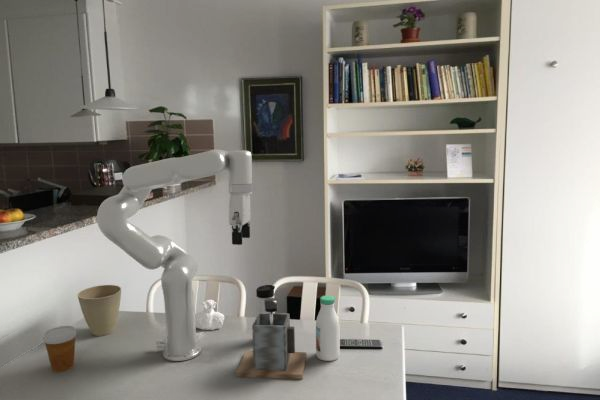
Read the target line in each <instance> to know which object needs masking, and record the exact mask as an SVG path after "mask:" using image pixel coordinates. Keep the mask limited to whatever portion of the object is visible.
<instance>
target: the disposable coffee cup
mask: <svg viewBox="0 0 600 400" xmlns="http://www.w3.org/2000/svg"><path fill="white" fill-rule="evenodd" d="M77 334H78V333H77V330H76V329H75V327H74V326H71V325H61V326H57V327H53V328H51V329H47V330H46V331H45V332H44V333H43V336H42V341H43V342H44V343H45V344H44V345H45V348H46V352H47V356H48V359H49V363H50V367H51V370H52V371H53V372H54V373H59V372H61V373H62V372H66V371H68V370H70V369H72V368H73V367H74V366H75V350H76V349H75V348H76V335H77Z"/></svg>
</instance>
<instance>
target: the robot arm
mask: <svg viewBox="0 0 600 400" xmlns="http://www.w3.org/2000/svg"><path fill="white" fill-rule="evenodd" d="M226 172H228V173H227V174H228V175H227V176H228V178H227V179H228V180H227V181H228V194H229V202H228V203H229V205H228V225H230V226H231V244H232V245H237V246H238V245H239V246H241V245H243V239H250V237H251V226H250V225H251V222H250V221H251V214H252V213H251V195H252V194H253V158H252V152H251V151H250V150H243V149H242V150H238V149H237V150H235V149H234V150H223V149H210V150H207V151H203V152H199V153H195V154H190V155H185V156H180V157H169V158H163V159H161V160H156V161H151V162H147V163H141V164H138V165H134V166H130V167H129V168H127V169H126V170H125V171H124V172H123V175H122V179H121V180H122V184H123V187H122V189H120V191H119V193H118V194H116V195H112V196H109V197H107V198H106V199H104V200H103V201H102V202H101V204H100V206H99V207H98V209H97V212H96V213H97V214H96V222H97V225H98V228H99V230H100V232H101V233H102V234H103V235H104V236H105V238H106V239H107V240H109V241H110V242H112V243H113V244H115V245H116V246H117V247H119V248H120V249H121V250H123V252H125V253H126V255H128V256H129V257H131V258H132V259H133V260H135V262H137V263H139V265H141V266H142V267H144V268H145V269H147V270H150V271H151V270H156V269H159V268H160V267H161V268H163V271H162V274H161V279H160V280H161V281H160V282H161V283H160V284H161V289H162V293H163V301H164V315H165V329H166V330H165V331H166V338H165V339H161V338H157V339H156V341H155V345H156V348H157V349H158V348H159V349H161V348H163V350H162V356H163V358H164V359H166V360H168V361H171V362H183V361H189V360H191V359H193V358H196V357H197V356H199V355H200V354H201V353H202V345H201V344H200V343H198V342H197V333H196V332H197V331H196V326H195V314H196V313H195V311H196V309H195V297H194V290H193V280H194V278H195V276H196V274H197V273H198V263H197V261H196V259H195V258H194V257H193V256H192V255H191V254H190V253H188V251H186V250H185V249H183V248H182V247H181V246H180V245H178V244H177V243H176V242H174V241H173V240H172V239H170V238H169V237H167V236H165V235H160V234H159V235H157V234H156V235H152V236H150V235H148V234H147V233H146V232H144V231H143V230H142V229H141V228H140V227H138V226H136V225H134V224H133V223H131V222H129V221H128V219H129V218H131V217H134V216H135V214H137V213H138V212H139V211H140V209H141V207H142V206H143V205H144V202H145V201H146V200H147V198H148V197H149V195H150V194H151V192H152V190H156V189H161V188H165V187H169V186H173V185H174V186H175V185H179V184H182V183H185V182H189V181H195V180H198V179H203V178H208V177H212V176H216V175H218V174H221V173H226Z"/></svg>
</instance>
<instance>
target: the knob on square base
mask: <svg viewBox="0 0 600 400" xmlns="http://www.w3.org/2000/svg"><path fill="white" fill-rule="evenodd" d="M264 303H265V311H266V312H270V325H273V312H275V313H276V312H277V311H278V299H277V298H275V297H274V298H268V299H265V300H264Z"/></svg>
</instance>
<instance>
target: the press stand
mask: <svg viewBox="0 0 600 400" xmlns="http://www.w3.org/2000/svg"><path fill="white" fill-rule="evenodd" d="M290 321H291V317H290V313H286V312H285V313H281V312H279V313H278V312H275V313H273V325H270V313H258V315H257V314H256V318H255V319H254V322H253V324H252V329H251V330H252V350H245V352H244V355H243V357H242V359H241V361H240V363H239V366H238V367H237V369H236V372H235V376H236V378H252V379H253V378H255V379H256V378H259V379H280V380H283V379H284V380H287V379H288V380H303V377H304V371H305V367H306V362H307V352H305V351H296V342H295V341H296V340H295V339H296V338H295V336H296V335H295V326H291V325H290V324H291V323H290Z"/></svg>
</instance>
